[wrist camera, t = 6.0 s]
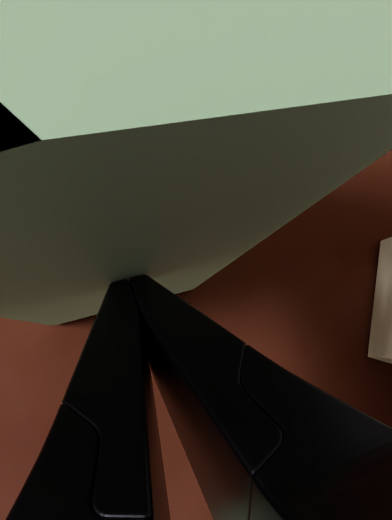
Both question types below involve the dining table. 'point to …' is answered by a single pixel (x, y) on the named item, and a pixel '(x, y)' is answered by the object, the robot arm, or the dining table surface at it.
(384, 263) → the cream block
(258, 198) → the sage block
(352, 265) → the dining table surface
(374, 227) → the dining table surface
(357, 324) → the dining table surface
